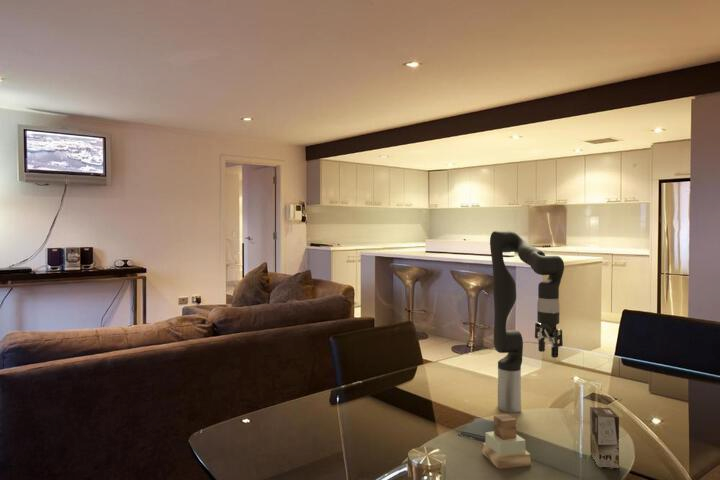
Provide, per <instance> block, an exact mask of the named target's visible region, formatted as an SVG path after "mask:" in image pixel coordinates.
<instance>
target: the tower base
mask: <svg viewBox="0 0 720 480" xmlns="http://www.w3.org/2000/svg"><path fill="white" fill-rule="evenodd" d="M482 454H483V455H484V456H485V457H486V458H487V459H488V460H489V461H490V462H491V463H492V464H493V465H494V466H495V467H496V468H497V469H498V470H499V469H509V468H518V467H519V468H521V467H526V466H527V467H528V466H531V465H532V464H531V461H532V460H531V456H532V455H531V453H530V452H529V451H528V450H526V453H521V454H514V455H507V456H500V455H498V454H497V453H496V452H494V451H493V450H492V449H491V448H489V447H488V446H487V445H485V442H482Z"/></svg>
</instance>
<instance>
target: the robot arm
mask: <svg viewBox="0 0 720 480" xmlns="http://www.w3.org/2000/svg"><path fill="white" fill-rule="evenodd" d="M489 248H490V255H491V266H492V280H493V283H492V284H493V285H492V286H493V291H492V293H493V304H494V305H493V307H494V309H493V311H494V312H493V313H494V317H493V318H494V320H493V322H494V323H493V346H494V349H495V350H496V352H497V353H500V354H506V353H507V354H506V355H505V356H504V357H503V358H501V359H499V360H498V361H497V409H498V410H500V411H501V412H505V413H509V414H510V413H511V414H515V413H519V412H522V411H521V410H522V375H521V374H522V371H521V369H522V363H523V352H524V351H523V350H524V341H523V336H522V334H521V332H520V331H519V330H517V329H507V320H508V317H509V315H510V314H511V311H512V309H513V307H514V305H515V304H516V301H517V284H516V281H515V279H514V277H513V276H512V274H511V273H510V271H509V270H508V267H507V265H506V264H505V261H504V254H503V253H517V254H518V258H519V259H520V260H521V262H523V263H525V264H526V265H529V266H530V268H531V269H532V271H534V273H535V274H537V275H540V276H548V277H547V279H545V280H543V281H540V282H539V283H538V286H537V287H538V289H537V291H538V293H537V294H538V299H537V305H536V306H537V310H536V311H537V312H536V313H537V318H536V319H537V322H535V326H534V339H537V342H538V352H540V353H541V352H543V353H544V352H545V351H546V339H547V341H548V342H550V346H551V353H550V354H551V358H554V359H555V358H556V359H557V358H559V348H561V347H563V346H564V345H563V330H562V328H561V329H558V328H557V325H559V324H560V296H559V295H560V293H559V292H560V284H561V282H562V281H561V280H562V277H563V274H564V271H565V262H564V260H563V259H562V258H561V256H559V255H546V254H545V253H544V252H543V251H542V250H541V249H538V248H536V247H535V246H533V245H531V244H530V243H528V242H527V241H526V240H524V239H523V238H522V237H521V236H520V235H519V234H518V233H516V232H515V231H512V230H494V231H492V233H491V235H490V238H489Z"/></svg>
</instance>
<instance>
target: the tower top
mask: <svg viewBox="0 0 720 480" xmlns="http://www.w3.org/2000/svg"><path fill="white" fill-rule="evenodd" d="M484 443H485V445H487V446H488V447H489V448H491V449H492V450H493V451H494V452H496V453H497V454H498V455H500V456H507V455H514V454H521V453H526V451H527V449H526V447H527V445H526V439H524V438H523V437H521V436H520V435H518V434H517V433H516V438H513V439H506V440H502V439H501V438H499V437H498V436H496V435H495V434H494V431H493V432H485V442H484Z"/></svg>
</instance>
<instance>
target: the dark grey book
mask: <svg viewBox="0 0 720 480" xmlns="http://www.w3.org/2000/svg"><path fill="white" fill-rule="evenodd" d="M473 420H474V421H473ZM473 420H472V421H473V422H472V421H471V422H472V423H470V422H469V423H470V424H469V423H468V424H469V425H468V424H467V425H468V426H467V425H466V426H467V427H466V426H465V427H466V428H465V427H464V428H465V429H464V428H462V430H463V431H462V432H461V433H460V434H461V435H463V436H467V437H472V438H474V439H473V440H475V439H476V440H475V441H480V442H482V443H485V432H493V431H494V420H489V419H485V418H479V417H475V418H474V419H473Z"/></svg>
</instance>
